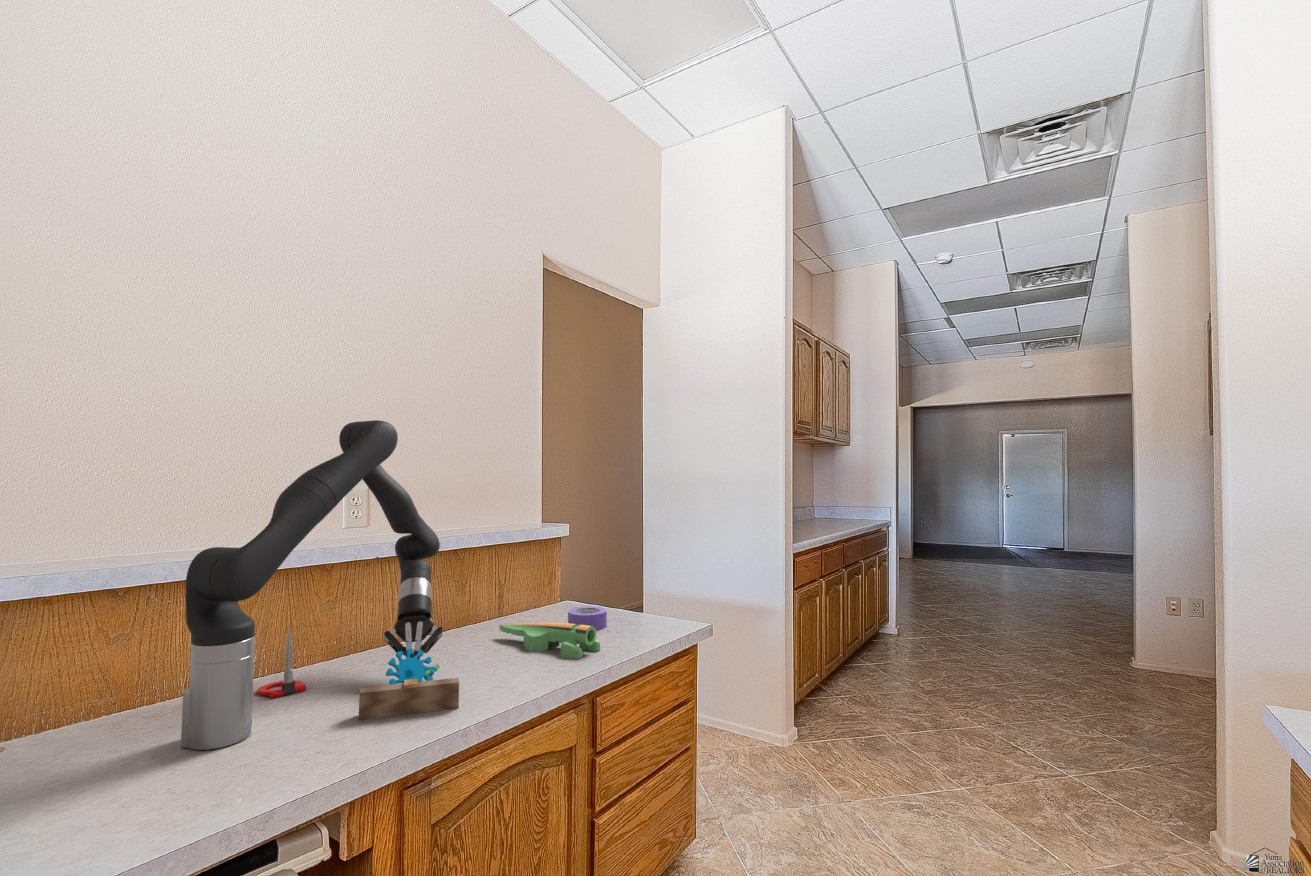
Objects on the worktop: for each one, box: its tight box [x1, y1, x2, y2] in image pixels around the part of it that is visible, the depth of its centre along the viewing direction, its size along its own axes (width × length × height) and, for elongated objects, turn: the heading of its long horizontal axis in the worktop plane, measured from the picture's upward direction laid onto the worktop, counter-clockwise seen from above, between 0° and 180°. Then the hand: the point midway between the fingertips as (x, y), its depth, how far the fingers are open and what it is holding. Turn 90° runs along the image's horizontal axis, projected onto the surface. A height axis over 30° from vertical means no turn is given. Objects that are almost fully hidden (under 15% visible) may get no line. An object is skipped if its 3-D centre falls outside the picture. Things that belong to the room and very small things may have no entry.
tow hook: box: [256, 631, 307, 699], centre depth 133 cm, size 8×13×9 cm
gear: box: [385, 647, 440, 685], centre depth 133 cm, size 11×6×10 cm
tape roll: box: [567, 605, 608, 631], centre depth 188 cm, size 12×12×5 cm
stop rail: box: [358, 677, 460, 721], centre depth 121 cm, size 18×3×6 cm, turn 109°
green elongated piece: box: [499, 622, 601, 660], centre depth 167 cm, size 32×10×7 cm, turn 59°
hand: (412, 669), depth 134 cm, fingers closed
